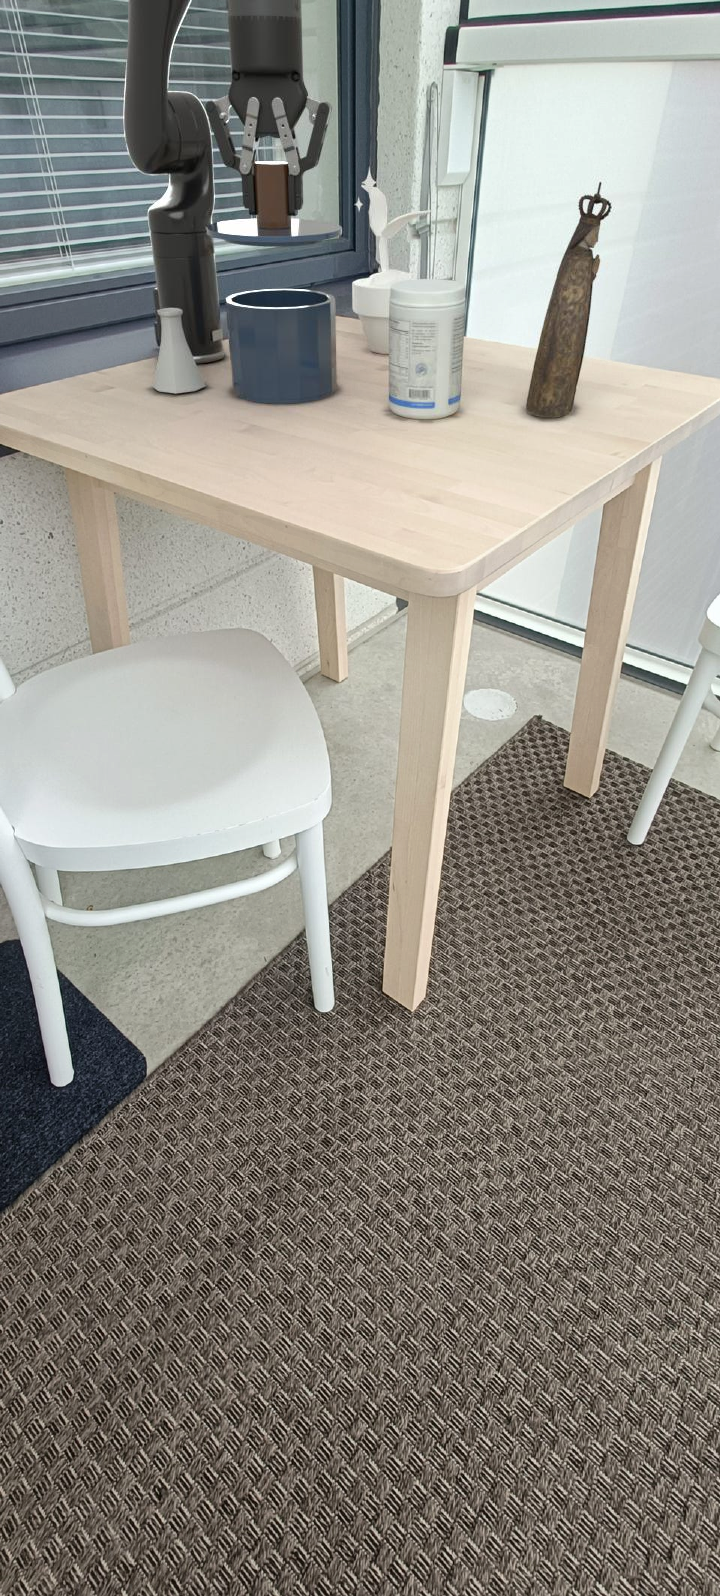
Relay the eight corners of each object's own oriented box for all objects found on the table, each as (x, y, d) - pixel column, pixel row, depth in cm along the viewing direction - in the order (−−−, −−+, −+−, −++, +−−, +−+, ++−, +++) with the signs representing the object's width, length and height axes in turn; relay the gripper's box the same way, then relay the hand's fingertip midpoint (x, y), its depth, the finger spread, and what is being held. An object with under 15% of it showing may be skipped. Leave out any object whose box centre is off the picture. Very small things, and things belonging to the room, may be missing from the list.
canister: (212, 393, 123) (202, 301, 116) (277, 372, 133) (272, 285, 125) (293, 409, 117) (289, 313, 110) (355, 386, 126) (355, 295, 119)
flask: (143, 388, 125) (132, 310, 119) (183, 379, 129) (174, 303, 123) (174, 398, 121) (164, 317, 115) (215, 388, 126) (207, 309, 119)
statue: (589, 417, 114) (626, 184, 98) (534, 421, 113) (562, 185, 97) (564, 400, 120) (595, 178, 105) (512, 402, 119) (535, 179, 104)
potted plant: (338, 352, 143) (335, 164, 127) (378, 339, 150) (379, 160, 135) (403, 362, 137) (408, 167, 122) (441, 349, 145) (450, 163, 129)
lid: (178, 240, 100) (170, 162, 95) (266, 226, 110) (263, 155, 105) (284, 254, 93) (281, 171, 88) (368, 238, 103) (369, 162, 98)
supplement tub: (433, 398, 121) (439, 276, 112) (474, 414, 115) (483, 286, 106) (373, 407, 117) (374, 282, 108) (412, 425, 111) (417, 294, 102)
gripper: (338, 16, 91) (338, 212, 102) (204, 15, 92) (219, 209, 103) (329, 12, 86) (331, 220, 97) (187, 10, 87) (204, 217, 97)
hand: (273, 214), depth 100 cm, fingers closed on lid, 4 cm apart
